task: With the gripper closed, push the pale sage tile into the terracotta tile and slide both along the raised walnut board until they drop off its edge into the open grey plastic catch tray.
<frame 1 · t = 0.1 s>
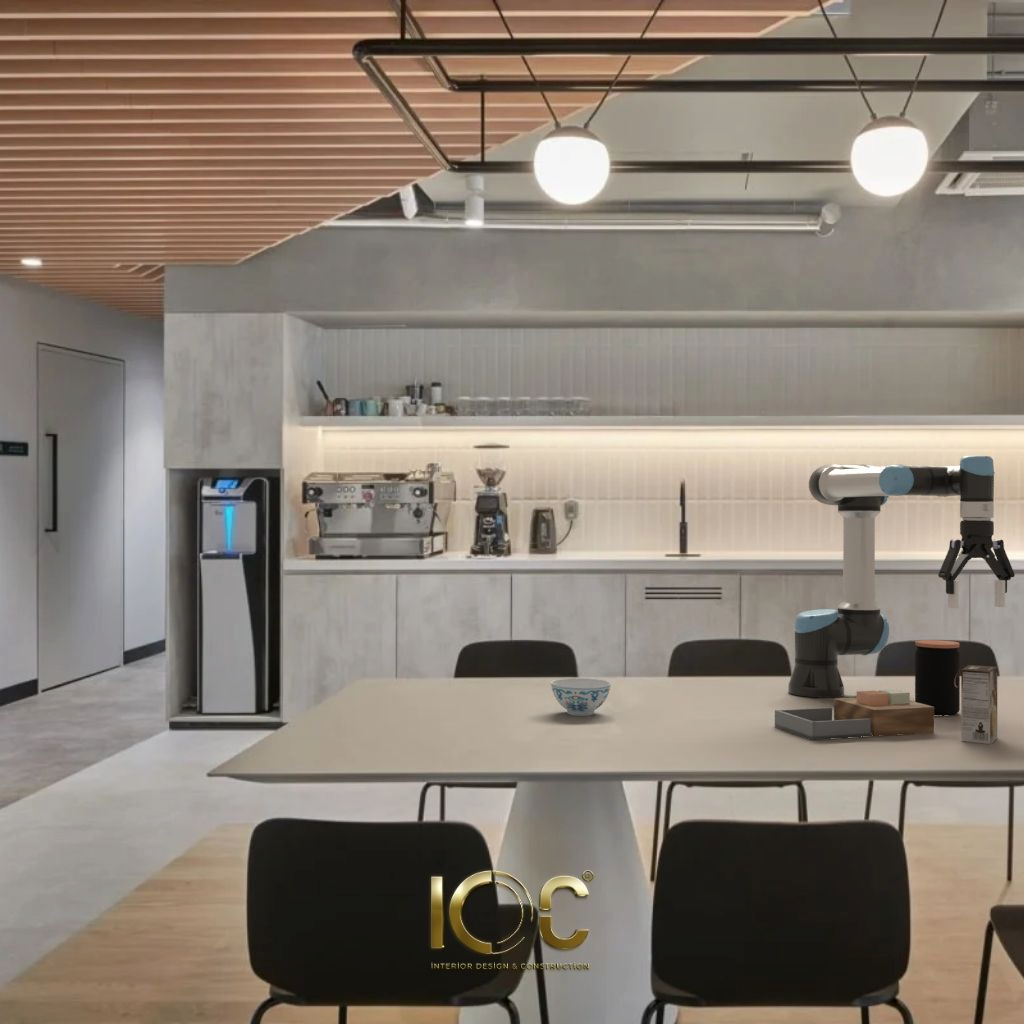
hand: (976, 607, 264), 28 cm above the table, tool pointing down, fingers open, 13 cm apart
catch tray: (821, 731, 252), on the table
coffee jar: (937, 713, 278), on the table
walnut board: (882, 728, 257), on the table
terracotta tile: (872, 703, 256), point 6 cm above the table, touching walnut board
coffee box: (979, 740, 244), on the table
sage tile: (893, 702, 258), point 6 cm above the table, touching walnut board
chinaware: (580, 714, 275), on the table
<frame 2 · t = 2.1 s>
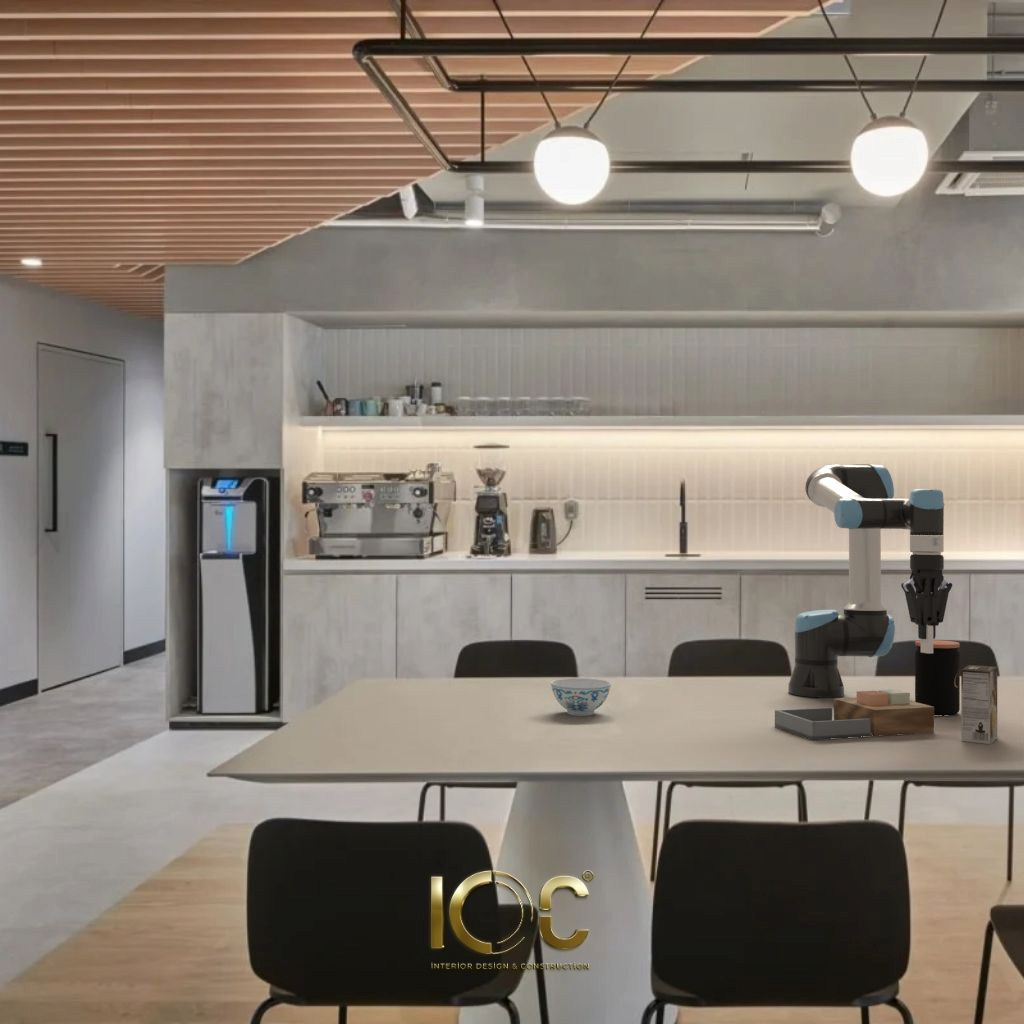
hand: (926, 652, 260), 17 cm above the table, tool pointing down, fingers closed
nothing on the table moved.
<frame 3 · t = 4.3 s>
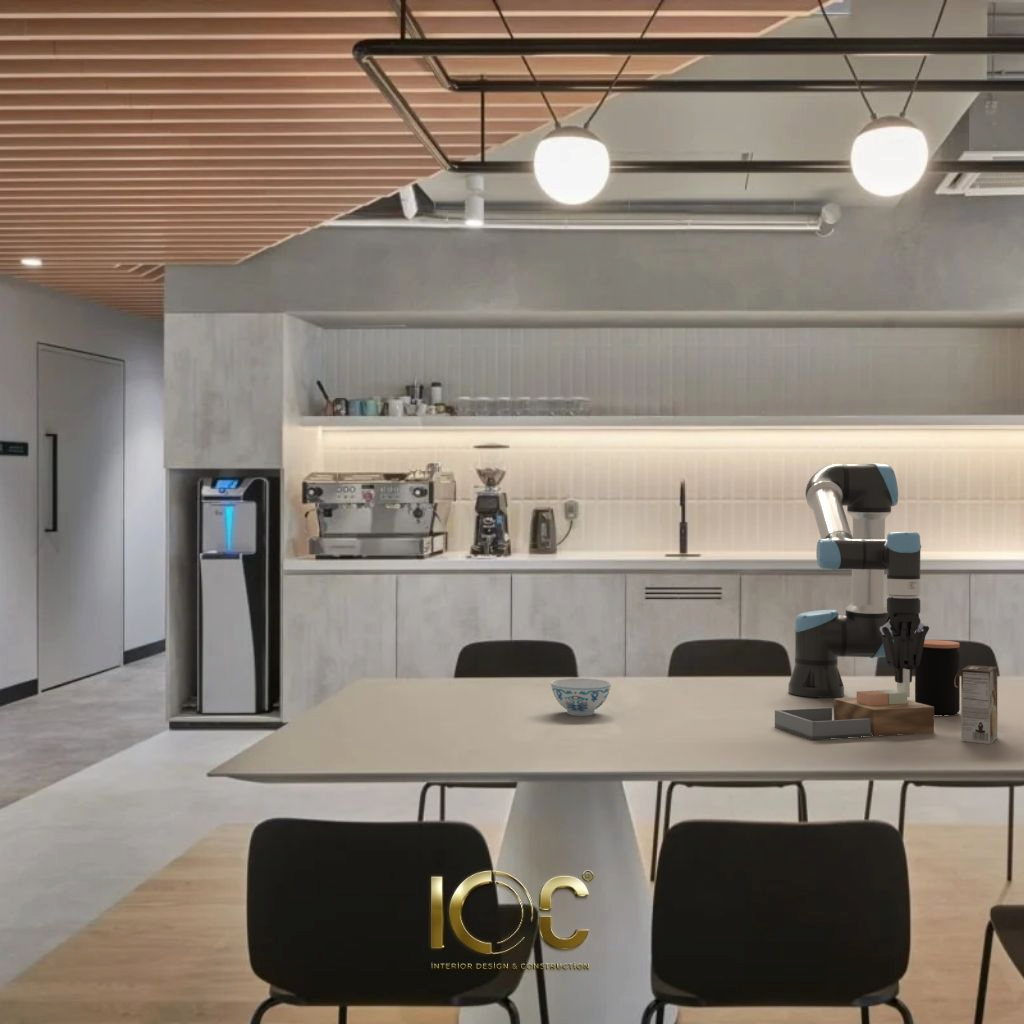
hand: (903, 696, 259), 7 cm above the table, tool pointing down, fingers closed
sage tile: (891, 702, 258), point 6 cm above the table, touching gripper
everything else where it was.
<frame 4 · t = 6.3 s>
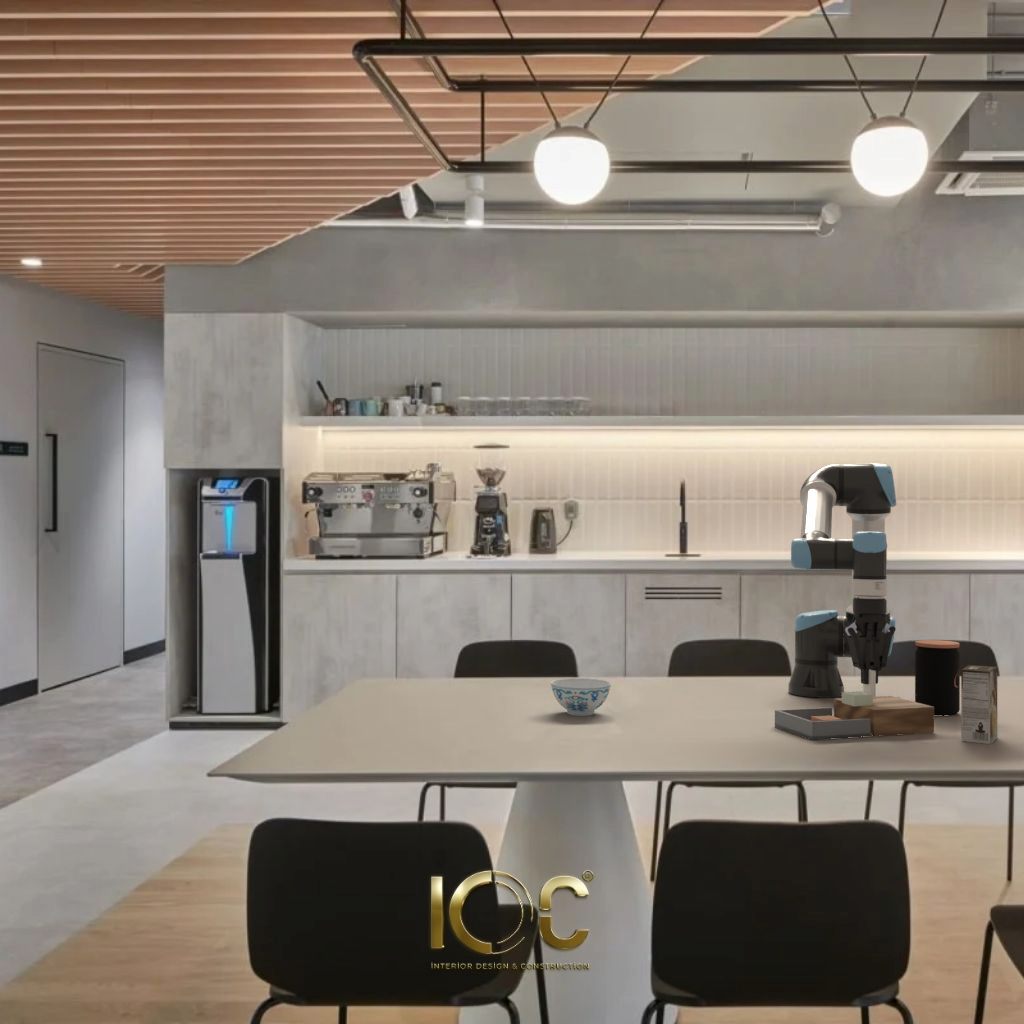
hand: (869, 697, 256), 7 cm above the table, tool pointing down, fingers closed
terracotta tile: (826, 717, 252), point 3 cm above the table, tilted 180°, touching catch tray
sage tile: (857, 704, 255), point 6 cm above the table, touching gripper, walnut board
everything else where it was.
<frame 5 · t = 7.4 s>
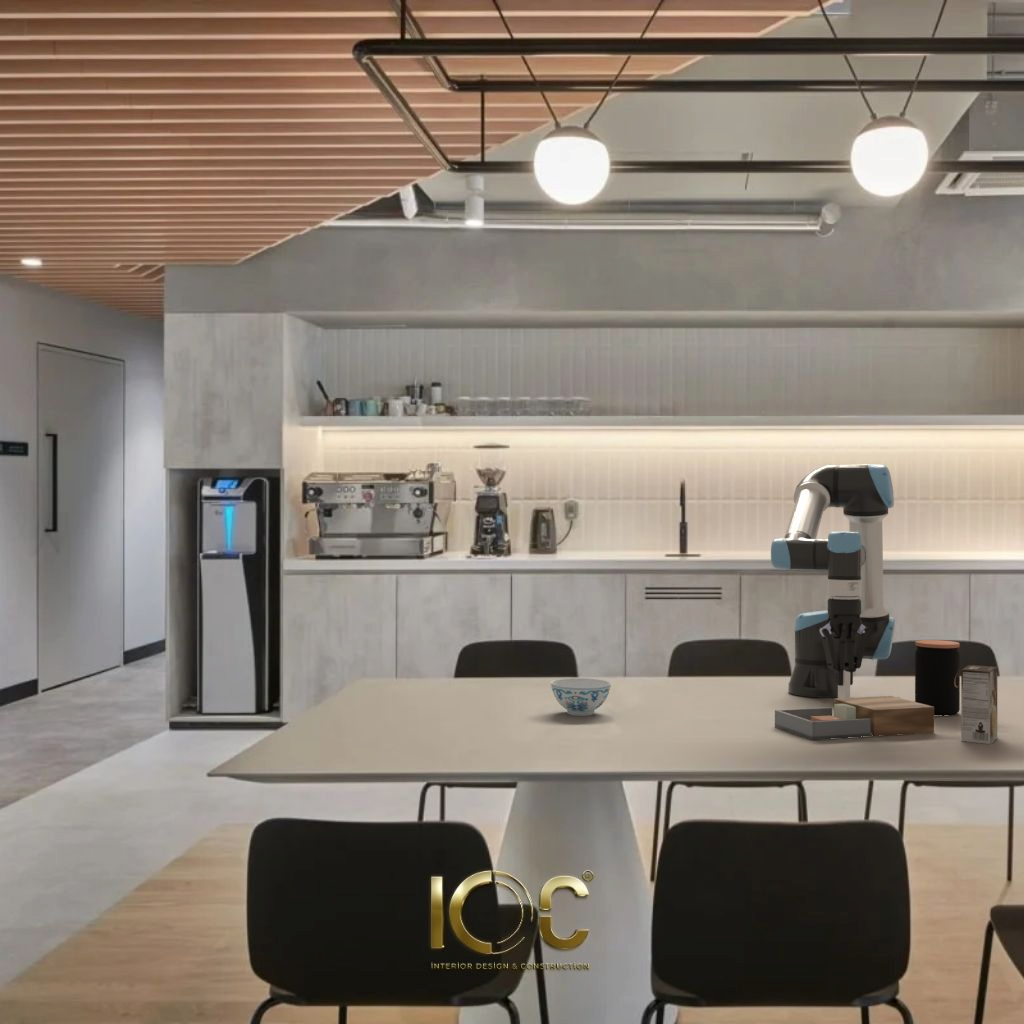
hand: (844, 699, 254), 7 cm above the table, tool pointing down, fingers closed
sage tile: (849, 716, 254), point 3 cm above the table, tilted 90°, touching catch tray
everything else where it was.
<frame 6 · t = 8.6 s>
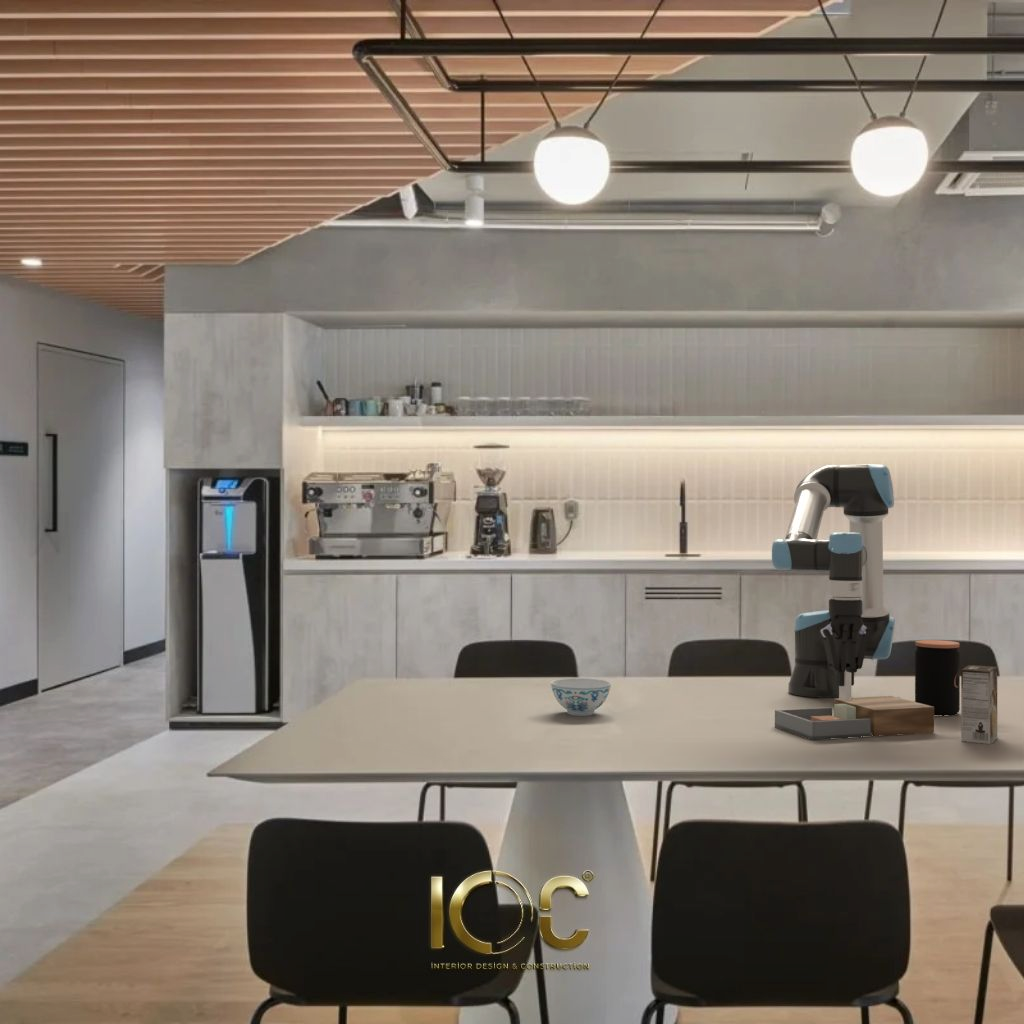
hand: (845, 699, 254), 7 cm above the table, tool pointing down, fingers closed
nothing on the table moved.
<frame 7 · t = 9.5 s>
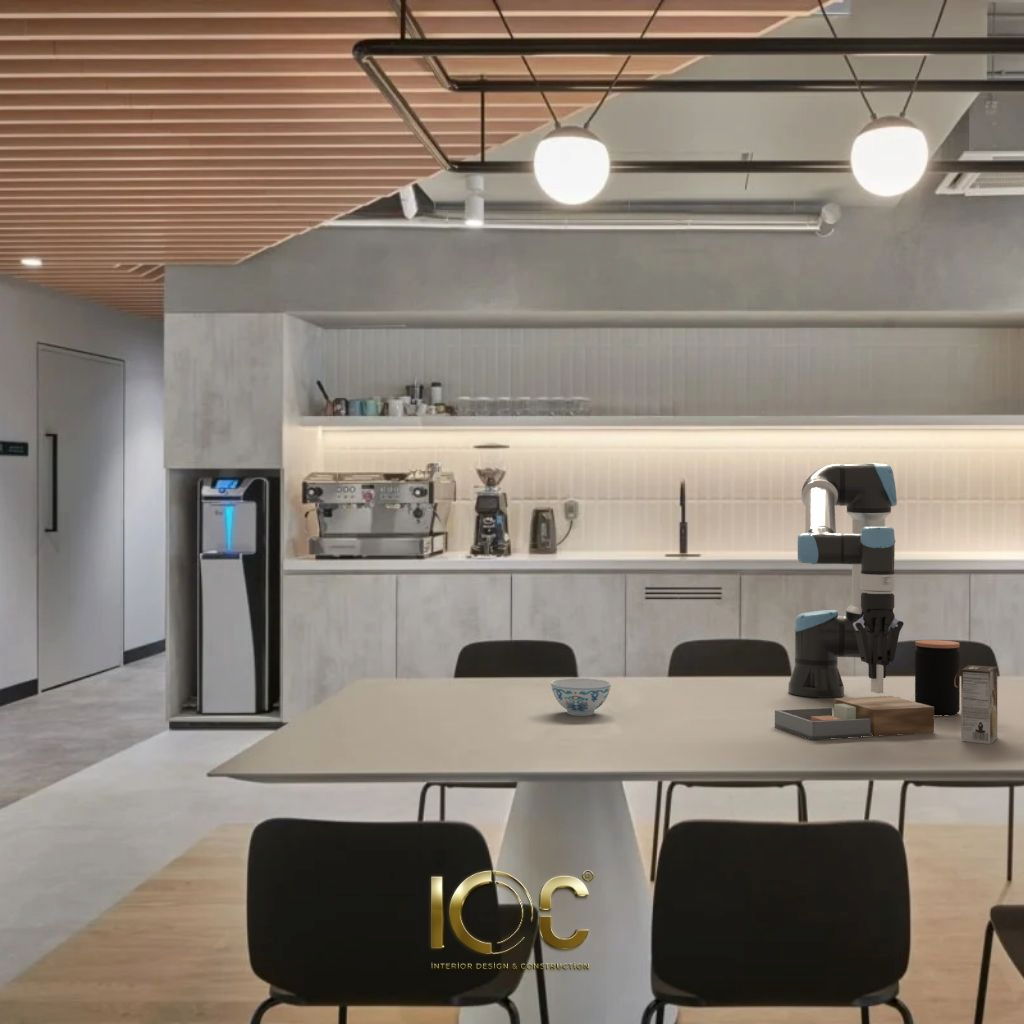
hand: (877, 692, 257), 8 cm above the table, tool pointing down, fingers closed
nothing on the table moved.
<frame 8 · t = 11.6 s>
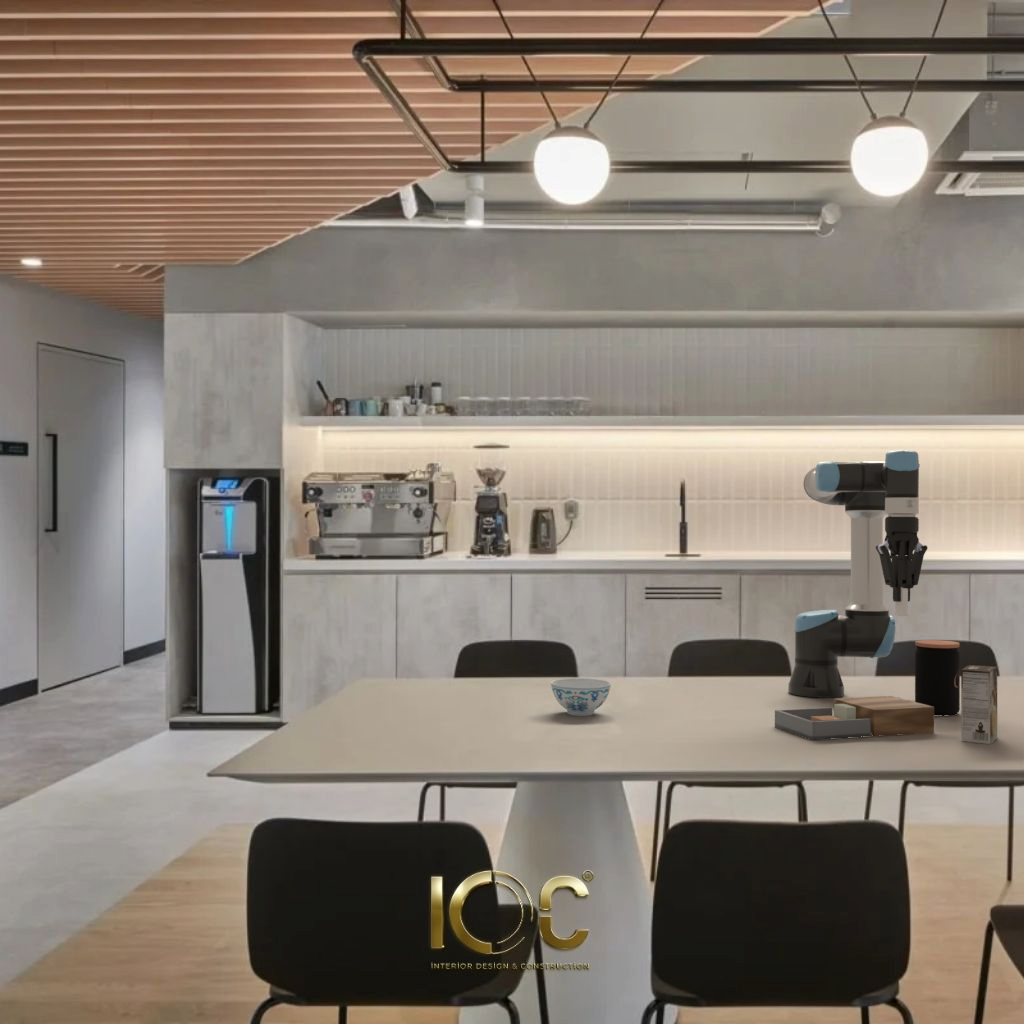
hand: (901, 615, 259), 26 cm above the table, tool pointing down, fingers closed
nothing on the table moved.
at the end: terracotta tile inside the target area on the catch tray (0.9 cm from its centre), point 3.3 cm above the catch tray's base; sage tile inside the target area on the catch tray (7.1 cm from its centre), point 3.3 cm above the catch tray's base; terracotta tile moved 13.0 cm from its start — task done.
